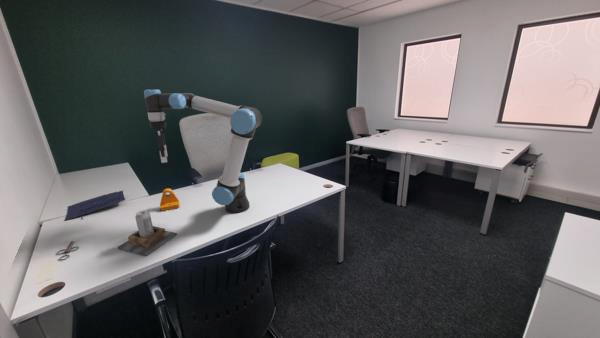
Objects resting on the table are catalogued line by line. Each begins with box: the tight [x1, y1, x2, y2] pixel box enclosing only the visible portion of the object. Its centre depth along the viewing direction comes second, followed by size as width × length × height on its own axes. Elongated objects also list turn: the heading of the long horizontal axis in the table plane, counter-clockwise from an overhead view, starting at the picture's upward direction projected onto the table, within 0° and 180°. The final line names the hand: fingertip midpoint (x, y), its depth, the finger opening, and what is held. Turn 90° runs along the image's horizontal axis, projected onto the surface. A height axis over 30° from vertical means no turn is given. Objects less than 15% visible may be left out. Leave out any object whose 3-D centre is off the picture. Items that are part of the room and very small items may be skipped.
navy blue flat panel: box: [64, 190, 126, 222], centre depth 157 cm, size 24×30×4 cm
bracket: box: [159, 188, 180, 212], centre depth 153 cm, size 11×7×12 cm, turn 116°
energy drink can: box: [134, 209, 154, 239], centre depth 117 cm, size 6×6×15 cm
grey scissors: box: [56, 240, 80, 261], centre depth 114 cm, size 8×18×2 cm, turn 31°
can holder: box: [117, 225, 178, 257], centre depth 119 cm, size 18×18×5 cm
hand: (164, 159), depth 134 cm, fingers open, 13 cm apart
